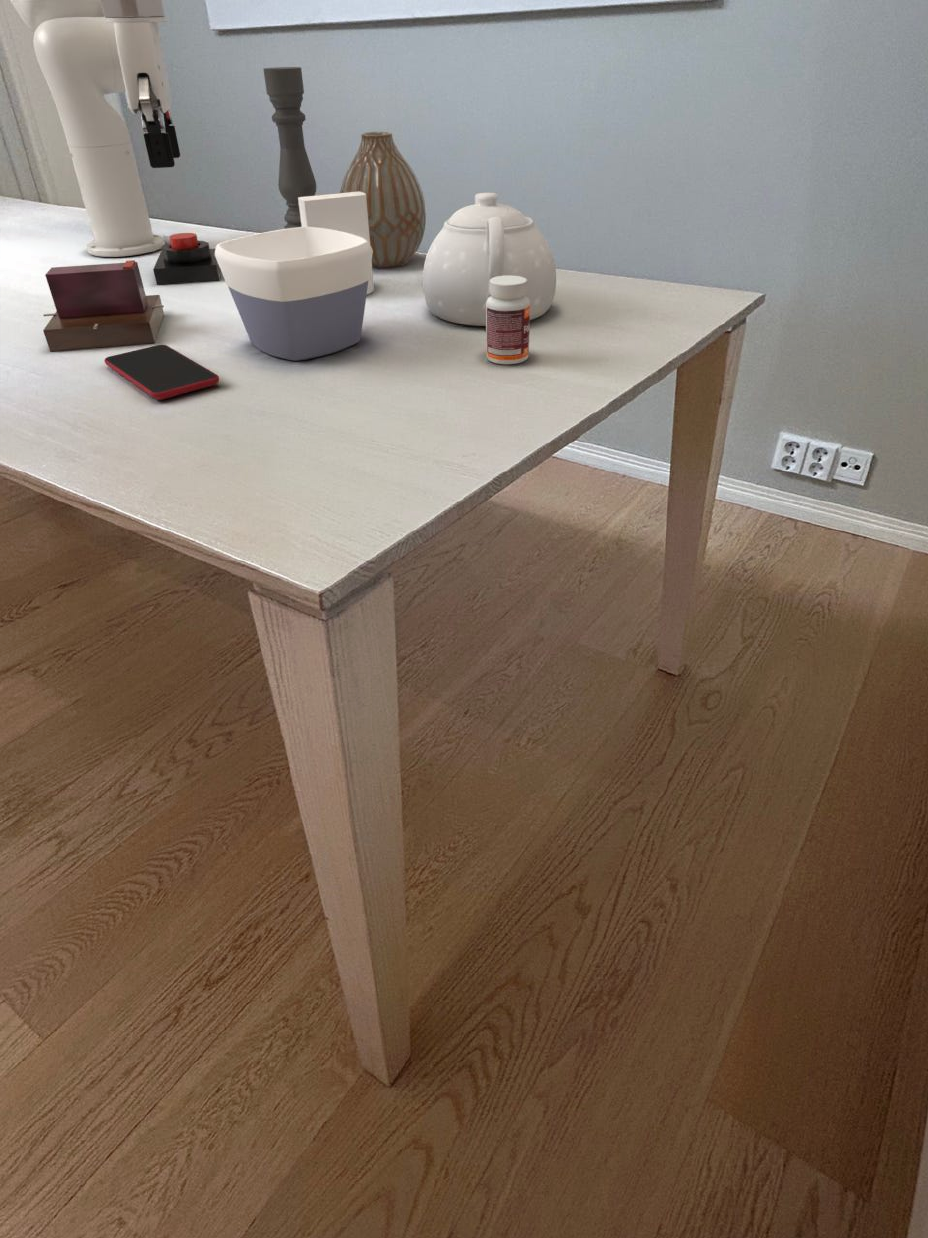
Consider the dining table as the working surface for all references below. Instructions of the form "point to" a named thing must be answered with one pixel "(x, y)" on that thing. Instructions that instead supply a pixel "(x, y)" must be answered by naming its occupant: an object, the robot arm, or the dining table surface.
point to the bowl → (298, 289)
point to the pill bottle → (507, 320)
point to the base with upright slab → (338, 216)
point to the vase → (388, 199)
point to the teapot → (486, 261)
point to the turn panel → (105, 328)
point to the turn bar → (97, 289)
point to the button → (183, 240)
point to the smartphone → (162, 371)
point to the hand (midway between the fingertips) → (166, 161)
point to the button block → (186, 265)
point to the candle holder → (290, 138)
